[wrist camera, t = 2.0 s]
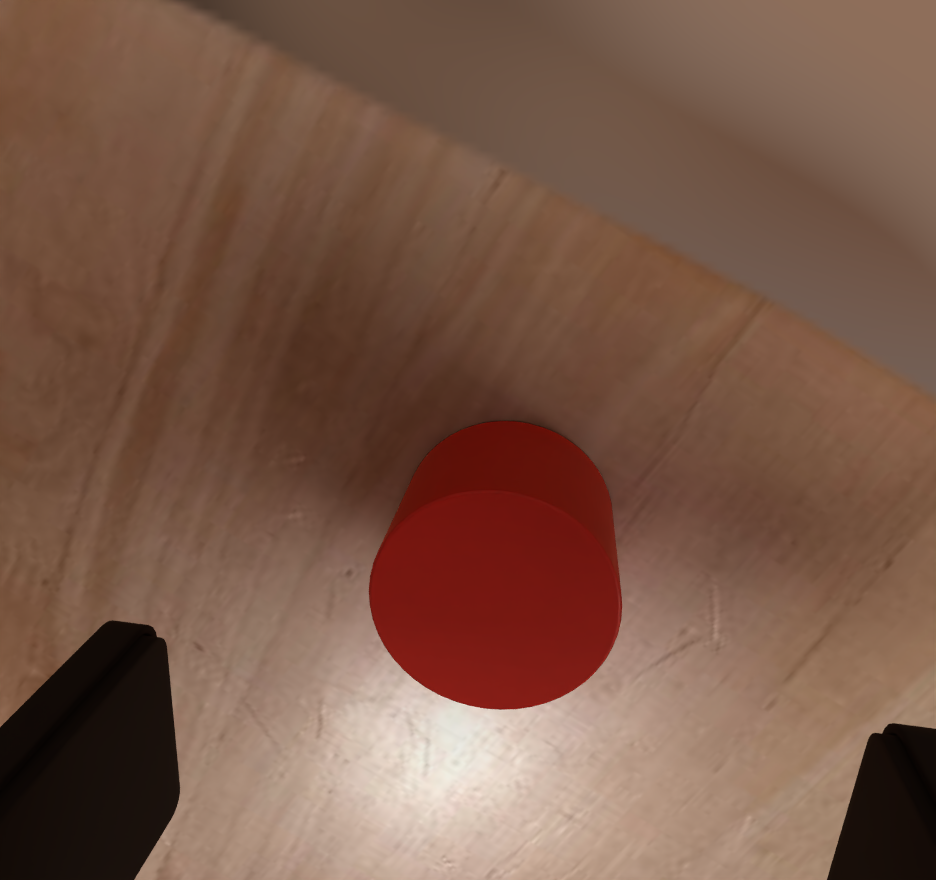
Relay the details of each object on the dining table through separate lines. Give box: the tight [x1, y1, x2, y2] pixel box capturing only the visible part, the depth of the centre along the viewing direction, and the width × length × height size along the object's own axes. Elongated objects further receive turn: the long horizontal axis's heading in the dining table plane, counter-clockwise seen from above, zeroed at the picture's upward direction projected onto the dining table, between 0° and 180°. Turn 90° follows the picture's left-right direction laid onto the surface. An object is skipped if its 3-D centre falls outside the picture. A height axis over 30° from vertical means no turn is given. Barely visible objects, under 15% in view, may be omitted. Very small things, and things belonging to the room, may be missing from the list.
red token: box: [369, 421, 622, 710], centre depth 15 cm, size 4×4×4 cm
